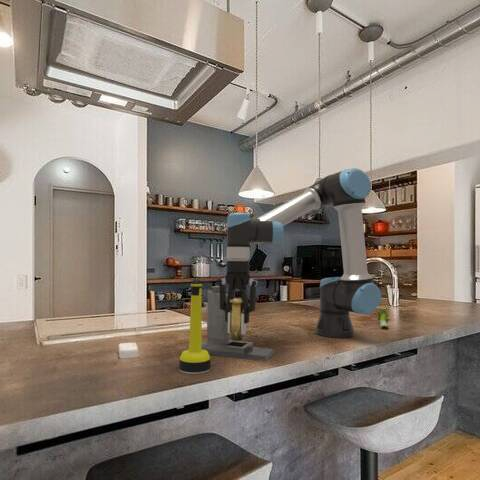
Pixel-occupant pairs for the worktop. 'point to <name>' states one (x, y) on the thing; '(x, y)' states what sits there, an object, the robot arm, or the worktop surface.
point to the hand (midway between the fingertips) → (236, 332)
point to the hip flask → (216, 316)
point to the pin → (236, 319)
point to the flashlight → (195, 337)
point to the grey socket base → (236, 349)
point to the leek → (383, 318)
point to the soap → (128, 350)
